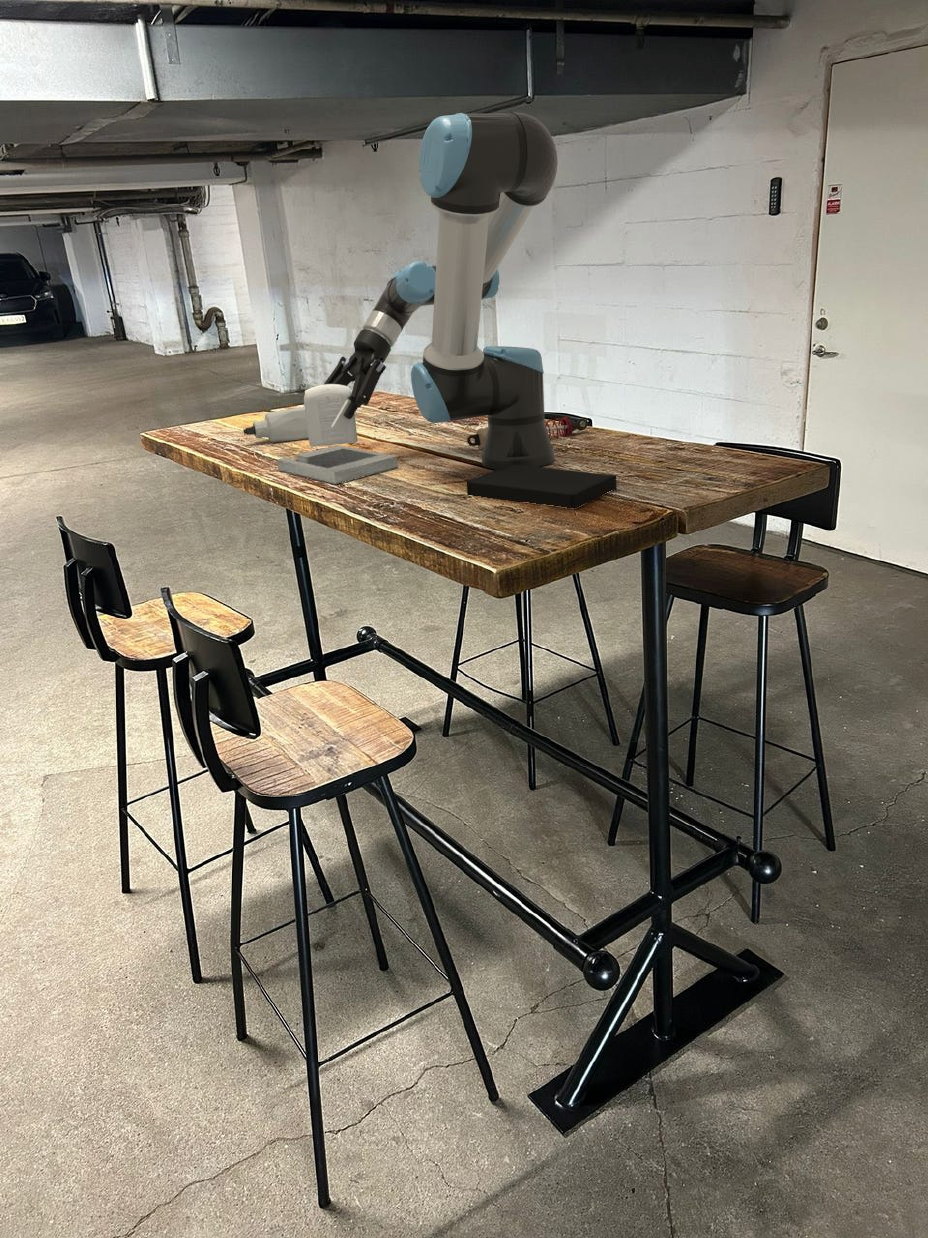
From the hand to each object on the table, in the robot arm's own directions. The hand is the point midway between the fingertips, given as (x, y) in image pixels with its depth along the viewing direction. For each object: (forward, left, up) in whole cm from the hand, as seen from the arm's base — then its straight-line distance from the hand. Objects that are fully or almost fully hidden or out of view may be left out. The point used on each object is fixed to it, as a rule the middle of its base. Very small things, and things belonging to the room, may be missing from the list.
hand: (324, 428), depth 186 cm
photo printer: (0, -2, -4) cm, 4 cm away
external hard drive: (-50, -12, -10) cm, 53 cm away
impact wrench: (+47, -18, -10) cm, 52 cm away
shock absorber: (-18, -43, -10) cm, 47 cm away
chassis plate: (0, -2, -9) cm, 9 cm away
